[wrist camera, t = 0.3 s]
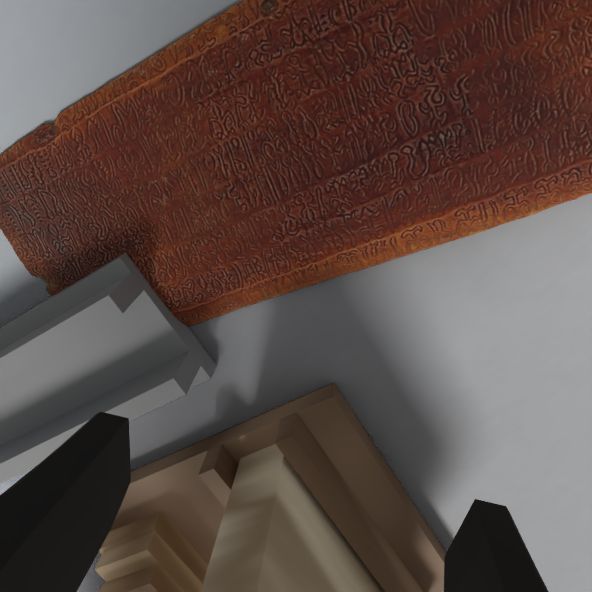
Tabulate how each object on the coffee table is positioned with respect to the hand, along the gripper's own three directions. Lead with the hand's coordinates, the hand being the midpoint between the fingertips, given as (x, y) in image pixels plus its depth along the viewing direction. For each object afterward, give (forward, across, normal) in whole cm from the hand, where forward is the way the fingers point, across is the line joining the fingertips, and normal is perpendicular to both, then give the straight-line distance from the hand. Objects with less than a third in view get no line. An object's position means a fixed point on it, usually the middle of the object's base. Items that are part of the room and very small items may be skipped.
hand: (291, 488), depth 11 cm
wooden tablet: (+12, +1, -4) cm, 13 cm away
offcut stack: (+7, +4, +18) cm, 20 cm away
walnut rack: (+9, +1, +15) cm, 17 cm away
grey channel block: (+9, +11, +8) cm, 16 cm away
